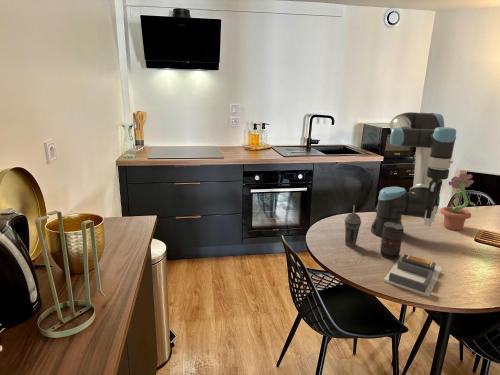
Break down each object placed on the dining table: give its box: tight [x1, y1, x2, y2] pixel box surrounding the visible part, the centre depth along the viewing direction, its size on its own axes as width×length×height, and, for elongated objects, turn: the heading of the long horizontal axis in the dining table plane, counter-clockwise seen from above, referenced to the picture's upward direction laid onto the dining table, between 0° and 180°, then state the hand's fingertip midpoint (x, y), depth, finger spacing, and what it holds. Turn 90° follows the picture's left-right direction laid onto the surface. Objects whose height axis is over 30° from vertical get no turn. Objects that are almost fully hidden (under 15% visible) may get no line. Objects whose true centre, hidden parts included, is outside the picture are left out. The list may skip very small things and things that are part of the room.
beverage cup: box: [344, 204, 362, 248], centre depth 158 cm, size 7×7×20 cm
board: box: [383, 254, 443, 298], centre depth 136 cm, size 16×24×4 cm, turn 143°
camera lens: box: [380, 222, 404, 260], centre depth 148 cm, size 8×8×15 cm
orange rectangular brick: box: [408, 255, 432, 266], centre depth 141 cm, size 8×3×3 cm, turn 53°
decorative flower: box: [440, 173, 477, 231], centre depth 178 cm, size 15×14×30 cm
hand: (428, 222), depth 142 cm, fingers open, 5 cm apart
